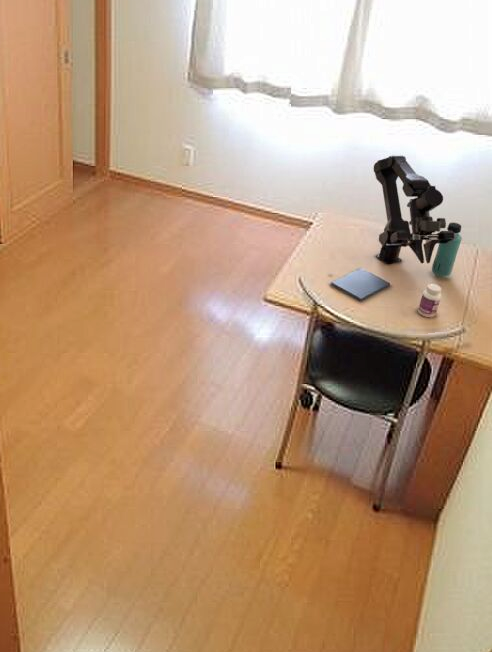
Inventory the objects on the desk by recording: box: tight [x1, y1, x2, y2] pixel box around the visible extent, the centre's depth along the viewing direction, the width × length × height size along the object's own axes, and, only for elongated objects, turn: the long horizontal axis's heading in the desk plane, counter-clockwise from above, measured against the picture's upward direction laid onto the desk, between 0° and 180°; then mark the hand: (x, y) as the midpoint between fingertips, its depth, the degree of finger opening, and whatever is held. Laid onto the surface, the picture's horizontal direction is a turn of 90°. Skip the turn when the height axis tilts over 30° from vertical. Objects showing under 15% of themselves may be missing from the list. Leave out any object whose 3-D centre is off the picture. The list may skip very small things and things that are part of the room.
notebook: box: [330, 267, 391, 302], centre depth 218 cm, size 16×12×1 cm
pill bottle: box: [417, 283, 442, 318], centre depth 203 cm, size 5×5×10 cm
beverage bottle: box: [431, 222, 463, 277], centre depth 220 cm, size 6×7×20 cm
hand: (425, 263), depth 207 cm, fingers closed
